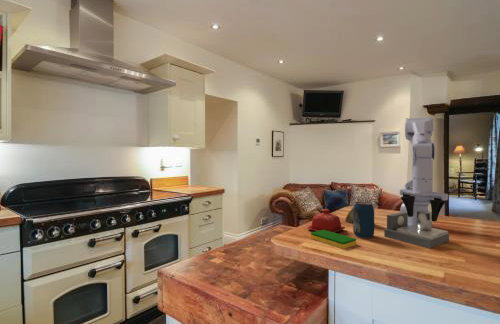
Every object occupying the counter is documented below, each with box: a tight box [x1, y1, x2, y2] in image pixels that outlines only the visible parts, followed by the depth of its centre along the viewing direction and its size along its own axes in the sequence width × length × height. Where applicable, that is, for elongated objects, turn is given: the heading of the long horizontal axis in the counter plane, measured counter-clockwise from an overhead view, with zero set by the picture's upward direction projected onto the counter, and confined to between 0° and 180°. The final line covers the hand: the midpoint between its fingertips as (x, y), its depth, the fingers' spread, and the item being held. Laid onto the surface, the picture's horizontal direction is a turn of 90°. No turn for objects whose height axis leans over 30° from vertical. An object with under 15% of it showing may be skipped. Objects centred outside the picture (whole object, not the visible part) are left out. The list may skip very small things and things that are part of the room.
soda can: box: [352, 201, 375, 239], centre depth 100 cm, size 7×7×12 cm
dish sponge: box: [310, 230, 357, 250], centre depth 95 cm, size 7×14×2 cm, turn 35°
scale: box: [383, 212, 450, 249], centre depth 97 cm, size 15×13×8 cm
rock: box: [345, 200, 375, 225], centre depth 120 cm, size 11×9×10 cm
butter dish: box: [306, 208, 346, 233], centre depth 108 cm, size 12×12×8 cm
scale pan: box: [397, 224, 449, 240], centre depth 95 cm, size 12×11×1 cm
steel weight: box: [417, 210, 433, 231], centre depth 95 cm, size 4×4×6 cm
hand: (422, 218), depth 95 cm, fingers open, 7 cm apart
